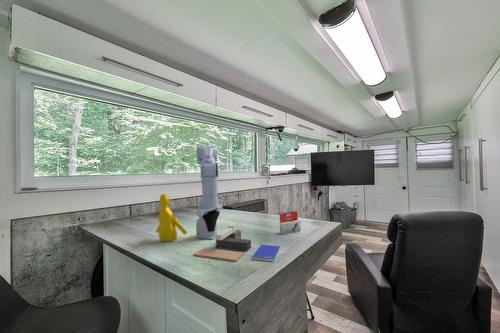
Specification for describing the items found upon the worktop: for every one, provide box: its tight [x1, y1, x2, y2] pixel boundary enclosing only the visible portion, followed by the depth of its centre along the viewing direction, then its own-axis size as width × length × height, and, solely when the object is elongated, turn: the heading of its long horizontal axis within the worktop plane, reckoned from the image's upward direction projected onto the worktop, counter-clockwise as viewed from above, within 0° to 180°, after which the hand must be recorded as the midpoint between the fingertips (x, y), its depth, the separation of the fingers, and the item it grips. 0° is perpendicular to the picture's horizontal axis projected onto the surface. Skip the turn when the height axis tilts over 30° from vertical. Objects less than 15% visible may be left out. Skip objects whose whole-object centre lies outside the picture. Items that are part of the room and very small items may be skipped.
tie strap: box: [215, 224, 237, 241], centre depth 91 cm, size 3×13×3 cm, turn 158°
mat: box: [192, 247, 245, 263], centre depth 81 cm, size 18×7×1 cm, turn 68°
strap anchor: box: [226, 229, 242, 239], centre depth 97 cm, size 5×6×4 cm
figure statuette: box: [155, 193, 188, 242], centre depth 101 cm, size 18×8×22 cm, turn 73°
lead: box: [215, 238, 252, 252], centre depth 88 cm, size 14×4×4 cm, turn 68°
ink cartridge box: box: [279, 210, 301, 235], centre depth 107 cm, size 2×11×10 cm, turn 115°
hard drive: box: [251, 244, 281, 262], centre depth 81 cm, size 2×8×12 cm
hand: (211, 231), depth 80 cm, fingers closed
